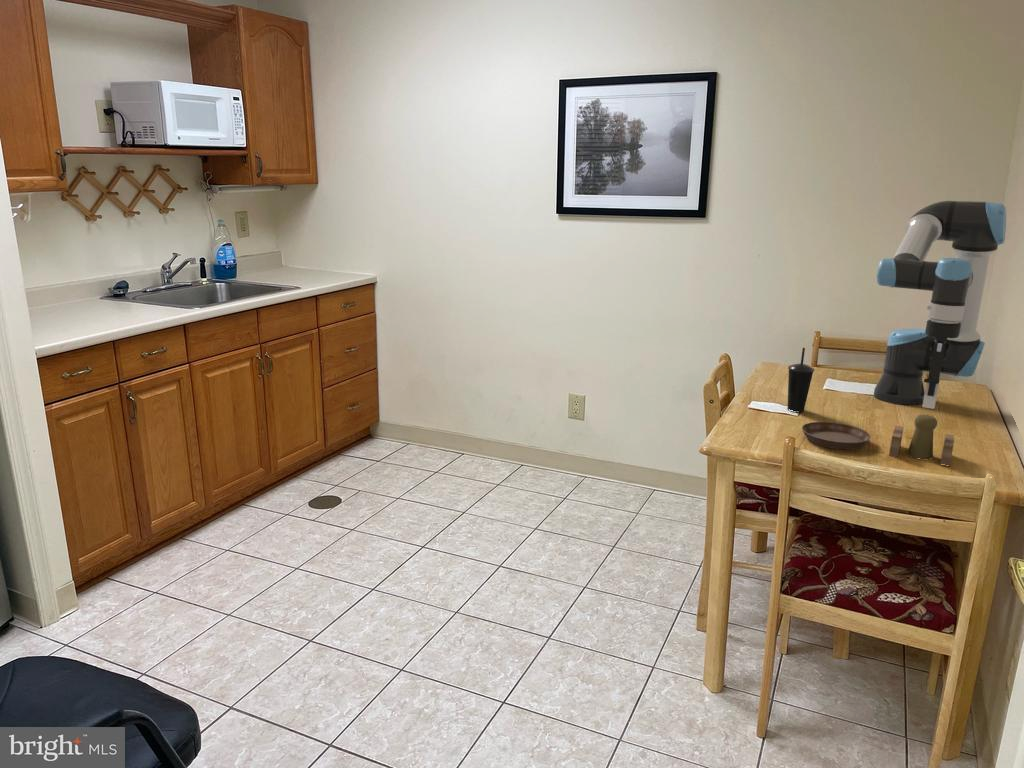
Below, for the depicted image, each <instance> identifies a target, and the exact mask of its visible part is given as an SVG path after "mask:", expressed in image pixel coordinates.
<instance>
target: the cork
mask: <svg viewBox="0 0 1024 768" xmlns="http://www.w3.org/2000/svg"><path fill="white" fill-rule="evenodd" d="M914 426H915V429H914V432H913V435H912V437H911V441H910V444H909V446H908V449H907V452H906V454H907V455H908V456H909V457H911V456H912V457H911V458H914V457H915V458H914V459H917V458H920V459H919V460H924V459H928V460H931V459H930V458H932V457H934V456H933V455H934V432H935V431H934V430H935V429H936V427H937V426H938V420H937V418H935V417H934V416H933V415H929V414H920V415H917V416H916V417H915V419H914ZM932 459H933V458H932Z"/></svg>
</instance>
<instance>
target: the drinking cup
mask: <svg viewBox="0 0 1024 768" xmlns="http://www.w3.org/2000/svg"><path fill="white" fill-rule="evenodd" d="M805 352H806V348H805V347H802V350H801V358H800V363H794V364H791V365H788V366H787V369H788V378H787V379H788V383H787V384H788V385H787V387H788V388H787V410H788V409H790V410H793V411H799V412H798V413H803V412H804V411H805V407H806V404H807V403H806V402H807V399H808V396H809V395H808V394H809V391H810V386H811V383H812V378H813V374H814V372H815V368H814V367H812V366H809V365H808V364H805V363H804V358H805Z"/></svg>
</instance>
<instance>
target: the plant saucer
mask: <svg viewBox="0 0 1024 768" xmlns="http://www.w3.org/2000/svg"><path fill="white" fill-rule="evenodd" d="M801 429H802V432H803V434H804V435H805V437H806V438H807V439H808V440H809V442H811V443H814V444H816V445H818V446H821V447H825V448H829V449H836V450H856V449H859V448H861V447H863V446H864V445H866V444H867V443H868V442H869V441H870V439H871V437H872V435H871V434H870V433H869V432H868V431H866V430H864V429H862V428H860V427H857V426H853V425H850V424H845V423H839V422H831V421H813V422H807V423H805V424H803V425H802V427H801Z"/></svg>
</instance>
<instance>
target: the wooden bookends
mask: <svg viewBox="0 0 1024 768" xmlns="http://www.w3.org/2000/svg"><path fill="white" fill-rule="evenodd" d="M904 428H905V427H904V426H901V425H895V427H894V430H893V432H892V435H891V440H890V447H889V454H888V456H889V457H894V458H898V456H899V452H900V449H901V444H902V440H903V434H904ZM954 443H955V435H953V434H950V433H949V434H948V433H947V434H946V433H945V435H944V441H943V446H942V450H941V457H942V458H941V457H940V458H941V459H940V465H941V464H945V465H951V462H952V454H953V451H954Z"/></svg>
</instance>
